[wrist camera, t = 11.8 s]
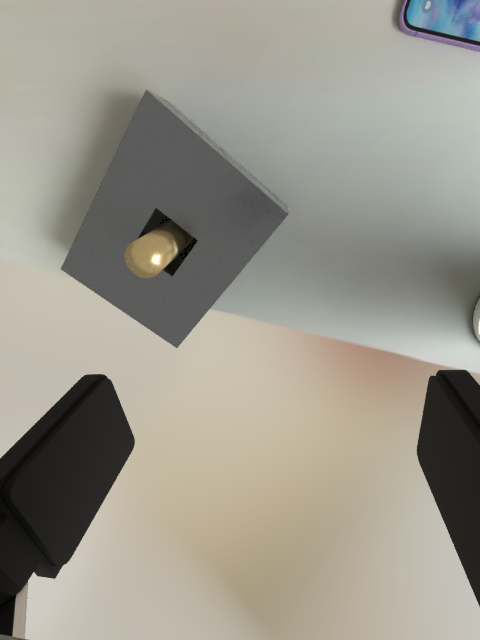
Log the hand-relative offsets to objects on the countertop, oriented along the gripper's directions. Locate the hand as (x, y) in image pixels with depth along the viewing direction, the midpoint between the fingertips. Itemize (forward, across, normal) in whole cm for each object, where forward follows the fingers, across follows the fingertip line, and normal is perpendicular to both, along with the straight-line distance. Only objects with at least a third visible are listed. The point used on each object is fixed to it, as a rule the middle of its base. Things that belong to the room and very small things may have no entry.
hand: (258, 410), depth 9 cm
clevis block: (+24, +11, -2) cm, 27 cm away
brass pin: (+24, +11, -2) cm, 27 cm away
